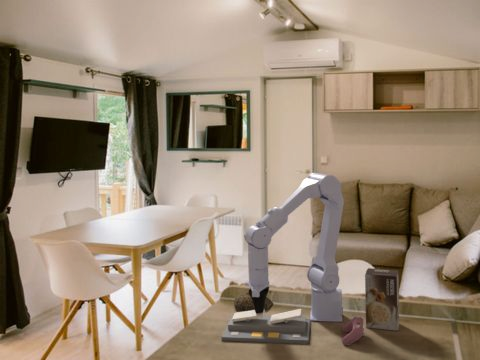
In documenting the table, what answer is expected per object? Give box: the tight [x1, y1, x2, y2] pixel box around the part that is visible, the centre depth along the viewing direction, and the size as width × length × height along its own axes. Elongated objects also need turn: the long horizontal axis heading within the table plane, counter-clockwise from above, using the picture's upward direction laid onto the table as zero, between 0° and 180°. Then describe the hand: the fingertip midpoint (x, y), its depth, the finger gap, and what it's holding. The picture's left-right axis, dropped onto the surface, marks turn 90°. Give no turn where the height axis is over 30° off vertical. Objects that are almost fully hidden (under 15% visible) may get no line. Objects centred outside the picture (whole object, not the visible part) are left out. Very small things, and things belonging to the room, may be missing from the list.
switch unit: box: [220, 313, 311, 345], centre depth 150 cm, size 24×15×2 cm, turn 81°
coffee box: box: [364, 267, 400, 332], centre depth 151 cm, size 9×6×16 cm
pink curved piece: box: [341, 315, 365, 346], centre depth 143 cm, size 10×5×7 cm, turn 169°
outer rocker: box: [232, 310, 266, 322], centre depth 153 cm, size 9×5×1 cm, turn 80°
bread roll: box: [233, 291, 274, 312], centre depth 171 cm, size 13×12×5 cm
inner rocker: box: [270, 308, 303, 324], centre depth 151 cm, size 9×5×1 cm, turn 80°
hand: (259, 312), depth 152 cm, fingers closed, pressing on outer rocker
